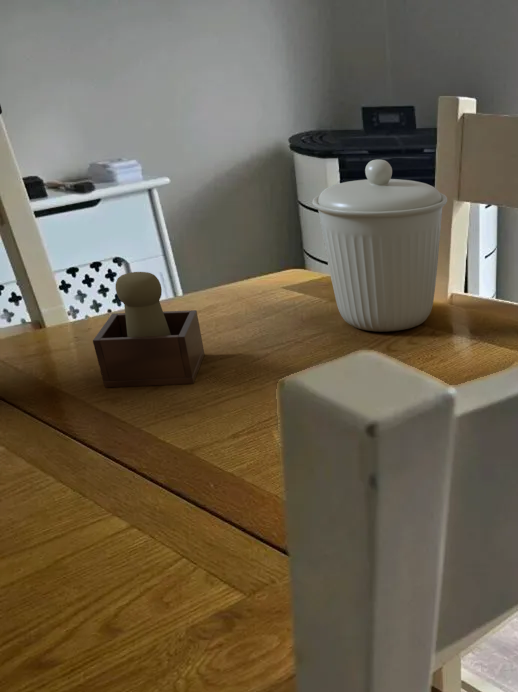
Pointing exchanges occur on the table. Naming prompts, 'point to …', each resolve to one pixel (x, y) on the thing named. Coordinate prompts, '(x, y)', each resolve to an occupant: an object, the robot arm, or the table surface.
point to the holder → (150, 352)
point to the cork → (142, 304)
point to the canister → (382, 248)
